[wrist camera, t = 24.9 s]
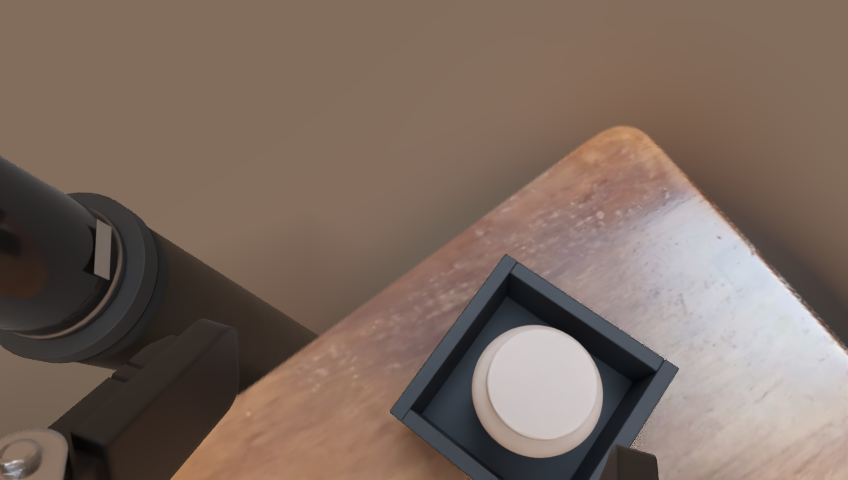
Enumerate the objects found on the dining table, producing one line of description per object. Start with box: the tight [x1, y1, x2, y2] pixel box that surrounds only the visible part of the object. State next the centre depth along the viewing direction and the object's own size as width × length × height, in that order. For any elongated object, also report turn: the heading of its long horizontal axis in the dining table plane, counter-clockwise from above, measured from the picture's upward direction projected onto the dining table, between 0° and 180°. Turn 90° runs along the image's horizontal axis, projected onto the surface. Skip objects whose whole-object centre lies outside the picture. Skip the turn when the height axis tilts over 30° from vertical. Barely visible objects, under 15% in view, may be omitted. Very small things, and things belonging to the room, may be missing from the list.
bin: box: [390, 254, 679, 480], centre depth 33 cm, size 11×11×6 cm
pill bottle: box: [472, 325, 603, 458], centre depth 30 cm, size 6×6×11 cm
